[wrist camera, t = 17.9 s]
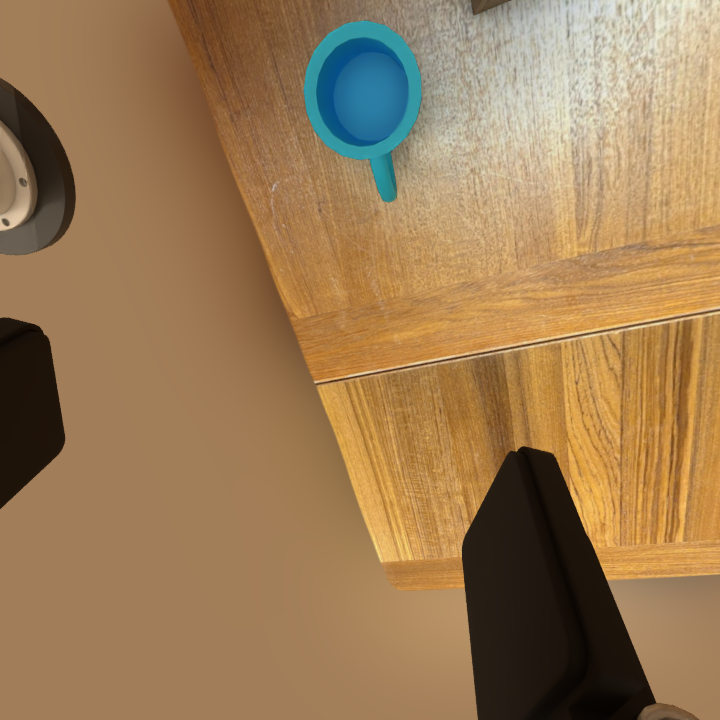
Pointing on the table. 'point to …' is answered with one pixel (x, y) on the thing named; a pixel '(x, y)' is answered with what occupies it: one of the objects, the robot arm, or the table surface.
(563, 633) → the robot arm
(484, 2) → the bin
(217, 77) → the table surface
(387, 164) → the mug
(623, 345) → the table surface
